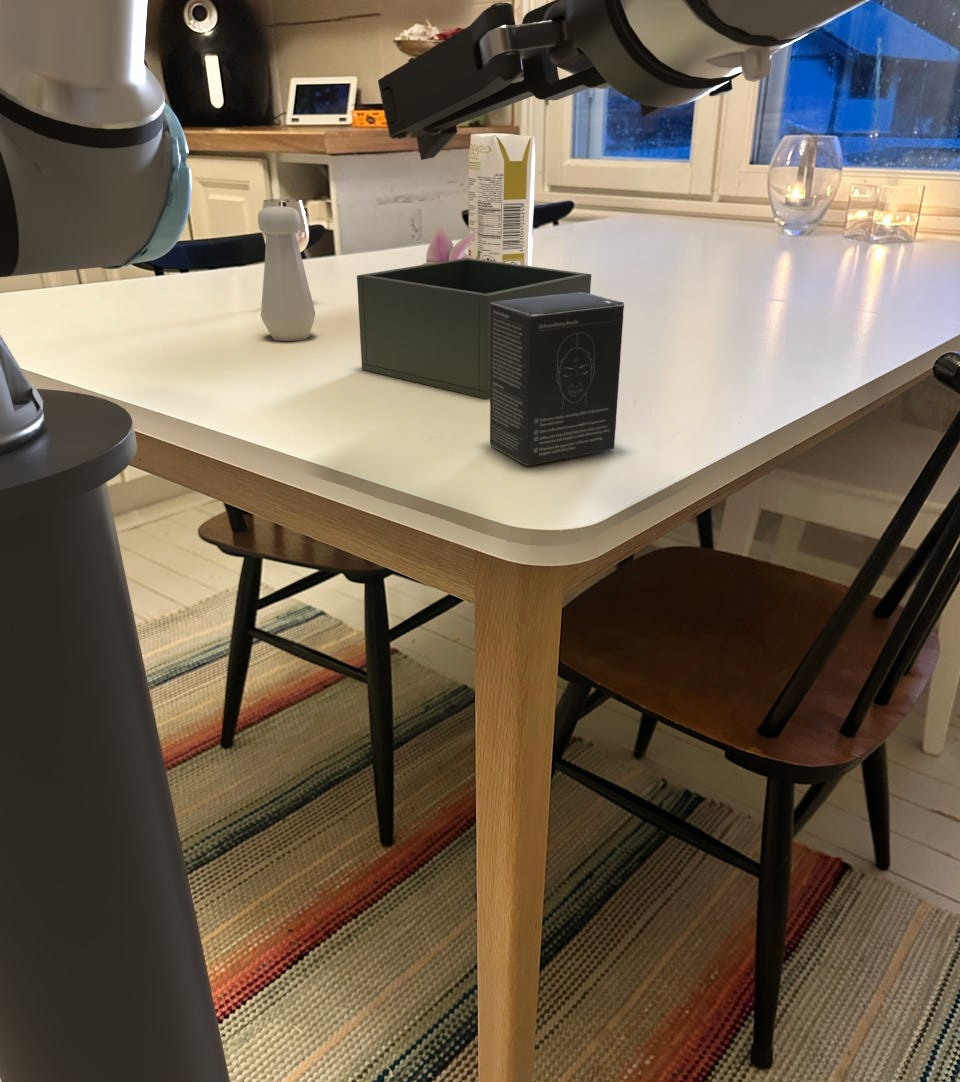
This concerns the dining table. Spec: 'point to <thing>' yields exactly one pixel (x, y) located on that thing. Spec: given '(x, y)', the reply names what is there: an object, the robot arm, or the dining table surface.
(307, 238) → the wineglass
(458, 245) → the lily
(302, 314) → the salt shaker
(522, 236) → the juice carton
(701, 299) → the dining table surface
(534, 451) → the box
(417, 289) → the open storage bin
